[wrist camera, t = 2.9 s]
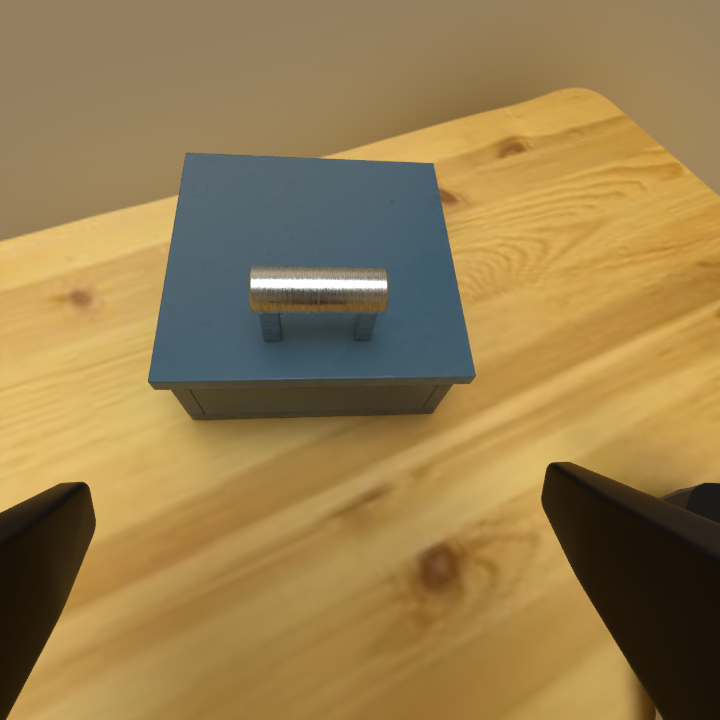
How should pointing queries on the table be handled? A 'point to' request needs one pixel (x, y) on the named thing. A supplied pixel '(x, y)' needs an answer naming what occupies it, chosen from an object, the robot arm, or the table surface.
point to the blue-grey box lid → (308, 277)
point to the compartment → (310, 401)
